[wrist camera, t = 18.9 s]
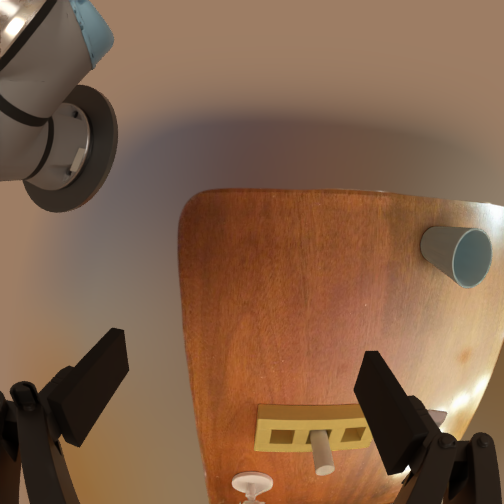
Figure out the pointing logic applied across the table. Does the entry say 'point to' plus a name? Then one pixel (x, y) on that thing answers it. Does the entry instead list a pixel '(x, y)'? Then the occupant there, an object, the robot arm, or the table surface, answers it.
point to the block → (310, 427)
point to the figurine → (252, 485)
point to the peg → (321, 452)
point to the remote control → (438, 416)
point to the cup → (458, 253)
